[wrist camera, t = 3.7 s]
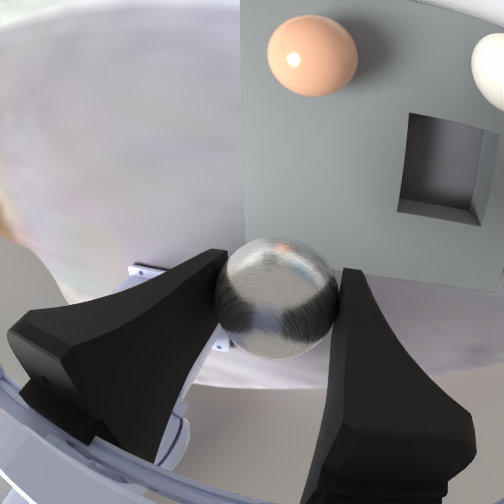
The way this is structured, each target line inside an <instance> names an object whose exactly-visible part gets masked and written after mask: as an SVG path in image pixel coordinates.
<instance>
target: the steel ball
mask: <svg viewBox="0 0 504 504" xmlns="http://www.w3.org/2000/svg"><path fill="white" fill-rule="evenodd" d="M338 302H339V291H338V285H337V280H336V278H335V275H334V272H333V270H332V268H331V266H330V265H329V263H328V262H327V260H326V259H325V258H324V257H323V256H322V255H321V254H320V253H319V252H318V251H317V250H316V249H315V248H314V247H312V246H310V245H309V244H307V243H305V242H303V241H301V240H298V239H296V238H292V237H287V236H267V237H262V238H259V239H256V240H253V241H251V242H249V243H247V244H245V245H243V246H242V247H240V248H239V249H238V250H237V251H236V252H234V253H233V254H232V255H231V256H230V257H229V259H228V260H227V261H226V263H225V264H224V266H223V267H222V269H221V271H220V273H219V276H218V279H217V282H216V286H215V293H214V303H215V310H216V314H217V318H218V321H219V323H220V325H221V327H222V329H223V331H224V332H225V334H226V335H227V336H228V337H229V339H230V340H231V341H232V342H233V343H234V344H235V345H237V346H238V347H239V348H240V349H242V350H243V351H245V352H247V353H249V354H251V355H253V356H256V357H259V358H264V359H271V360H283V359H288V358H293V357H296V356H299V355H301V354H303V353H306V352H308V351H309V350H311V349H312V348H313V347H315V346H316V345H317V344H318V343H319V342H321V340H322V339H323V338H324V337H325V336H326V335H327V333H328V332H329V330H330V328H331V327H332V325H333V323H334V320H335V317H336V314H337V309H338Z"/></svg>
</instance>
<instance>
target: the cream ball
mask: <svg viewBox="0 0 504 504" xmlns="http://www.w3.org/2000/svg"><path fill="white" fill-rule="evenodd" d="M471 68H472V74H473V77H474V80H475V83H476V85H477V87H478V88H479V90H480V92H481V93H482V94H483V96H484V97H485V98H486V99H487V100H488V101H489V102H490V103H491V104H492V105H494V106H495V107H496V108H498V109H500V110H502V111H504V33H494V34H489V35H487V36H485V37H483V38H482V39H481V40H480V41H479V42H478V43H477V45H476V46H475V48H474V50H473V53H472V58H471Z"/></svg>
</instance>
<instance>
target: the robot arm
mask: <svg viewBox="0 0 504 504" xmlns="http://www.w3.org/2000/svg"><path fill="white" fill-rule="evenodd" d="M227 260H228V251H226V250H219V249H209V250H207V251H205V252H203V253H201V254H199V255H197V256H195V257H193V258H191V259H189V260H187V261H185V262H184V263H182V264H180V265H178V266H176V267H174V268H172V269H170V270H168V271H163V270H158V269H153V268H148V267H143V266H138V265H130V266H129V268H128V270H129V274H130V276H129V277H128V278H127V279H126V280H125V281H124V282H123V283H122V284H121V285H120V286H119V287H118V288H117V289H116V290H114V291H113V292H112V293H111V294H110V295H108V296H105V297H101V298H98V299H95V300H91V301H87V302H83V303H78V304H73V305H68V306H62V307H55V308H47V309H38V310H30V311H28V312H27V313H26V314H25V315H24V316H23V317H22V318H21V319H20V320H19V321H17V322H16V323H15V324H14V325H13V326H12V327H11V328H10V329H9V330H8V332H7V339H8V342H9V345H10V347H11V349H12V351H13V352H14V354H15V356H16V357H17V359H18V360H19V361H20V363H21V365H22V366H23V368H24V369H25V371H26V372H27V374H28V375H29V377H30V378H31V379H30V380H29V381H28V382H27V384H26V385H25V386H24V387H22V386H21V385H19V384H18V383H17V382H16V381H14V380H13V379H12V378H11V377H9V376H8V375H7V374H6V373H5V371H4V369H3V368H2V366H1V365H0V474H1V475H2V477H3V478H4V479H5V480H6V481H7V482H8V483H9V484H10V485H11V486H12V487H13V488H12V490H11V491H10V492H9V494H8V495H7V497H6V498H5V500H4V501H3V503H2V504H157V503H156V502H153V501H151V500H149V499H147V498H145V497H143V494H145V492H146V491H147V490H148V489H149V490H151V491H153V492H155V493H158V494H160V495H162V496H165V497H167V498H169V499H172V500H174V501H177V502H179V503H182V504H277V503H272V502H268V501H263V500H259V499H255V498H251V497H247V496H243V495H240V494H236V493H232V492H229V491H225V490H222V489H219V488H216V487H213V486H209V485H206V484H203V483H200V482H198V481H195V480H191V479H189V478H186V477H184V476H181V475H178V474H176V473H173V472H171V471H172V470H173V469H174V468H175V467H176V465H177V464H178V463H179V461H180V460H181V458H182V456H183V455H184V453H185V451H186V448H187V446H188V443H189V438H190V432H189V422H188V421H187V419H185V418H184V417H182V416H183V414H184V412H185V410H186V409H187V407H188V405H187V404H186V403H185V402H184V401H182V400H183V399H184V397H185V395H186V393H187V391H188V390H189V388H190V386H191V384H192V383H193V381H194V379H195V377H196V375H197V374H198V372H199V370H200V368H201V367H202V365H203V363H204V361H205V359H206V358H207V356H208V354H209V352H210V350H211V349H215V350H219V351H223V352H228V351H229V350H230V339H229V337H228V336H227V335H226V334H225V332H224V331H223V329H222V327H221V325H220V323H219V321H218V318H217V314H216V310H215V303H214V293H215V286H216V282H217V279H218V276H219V273H220V271H221V269H222V267H223V266H224V264H225V263H226V261H227ZM476 453H477V449H476V437H475V429H474V425H473V421H472V416H471V414H470V413H469V412H468V411H467V410H466V409H464V408H463V407H462V406H461V405H459V404H458V403H457V402H456V401H454V400H453V399H452V398H451V397H449V396H448V395H447V394H446V393H445V392H444V391H443V390H442V389H441V388H440V387H439V386H438V385H437V384H436V383H435V382H433V381H432V380H431V379H430V377H429V376H428V375H427V374H426V373H425V372H424V371H423V370H422V369H421V368H420V367H419V365H418V364H417V363H416V362H415V361H414V360H413V359H412V357H411V356H410V355H409V354H408V352H407V351H406V350H405V349H404V347H403V346H402V344H401V343H400V342H399V340H398V339H397V337H396V336H395V334H394V333H393V331H392V330H391V328H390V326H389V325H388V323H387V321H386V320H385V318H384V316H383V314H382V312H381V310H380V309H379V307H378V305H377V303H376V301H375V299H374V297H373V295H372V292H371V290H370V288H369V286H368V283H367V281H366V278H365V276H364V273H363V272H362V270H358V269H351V268H344V267H343V273H342V279H341V285H340V291H339V302H338V309H337V314H336V317H335V320H334V324H333V330H332V336H331V348H330V362H329V376H328V388H327V397H326V404H325V409H324V413H323V418H322V422H321V427H320V432H319V436H318V440H317V444H316V448H315V452H314V456H313V459H312V463H311V467H310V471H309V474H308V478H307V481H306V485H305V488H304V491H303V495H302V498H301V501H300V504H442V497H445V496H446V495H447V492H448V481H449V480H451V479H452V478H453V477H455V476H456V475H457V474H458V473H460V472H461V471H462V470H464V469H465V468H466V467H467V466H468V465H469V464H470V463H471V462H472V460H473V459H474V458H475V455H476ZM495 504H504V498H503V499H501V500H499V501H498V502H496V503H495Z"/></svg>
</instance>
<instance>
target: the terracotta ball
mask: <svg viewBox="0 0 504 504" xmlns="http://www.w3.org/2000/svg"><path fill="white" fill-rule="evenodd" d="M267 58H268V63H269V66H270V69H271V71H272V73H273V74H274V76H275V77H276V79H277V80H278V81H279V82H280V83H281V84H282V85H283V86H284V87H286V88H287V89H289V90H291V91H292V92H294V93H297V94H300V95H303V96H308V97H324V96H328V95H331V94H334V93H336V92H338V91H340V90H341V89H343V88H344V87H345V86H346V85H347V84H348V83H349V82H350V81H351V80H352V78H353V76H354V74H355V72H356V69H357V65H358V51H357V47H356V44H355V42H354V40H353V38H352V36H351V35H350V33H349V32H348V31H347V30H346V29H345V28H344V27H343V26H342V25H341V24H339V23H338V22H336V21H335V20H333V19H330V18H328V17H325V16H322V15H317V14H303V15H298V16H295V17H292V18H290V19H288V20H286V21H284V22H283V23H282V24H281V25H279V26H278V27H277V28H276V30H275V31H274V32H273V34H272V36H271V38H270V40H269V43H268V48H267Z"/></svg>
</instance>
